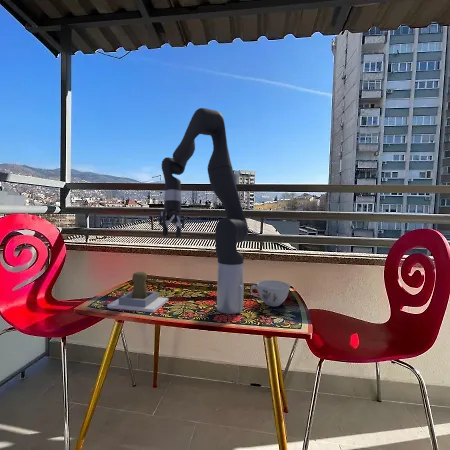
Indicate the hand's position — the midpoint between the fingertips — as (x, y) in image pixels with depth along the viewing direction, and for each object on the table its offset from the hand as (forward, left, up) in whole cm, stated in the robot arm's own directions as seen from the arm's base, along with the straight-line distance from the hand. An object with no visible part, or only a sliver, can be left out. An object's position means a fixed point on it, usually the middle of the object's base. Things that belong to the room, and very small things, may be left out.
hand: (172, 236), depth 123 cm
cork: (+4, +22, -23) cm, 32 cm away
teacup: (-44, +9, -24) cm, 51 cm away
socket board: (+4, +22, -23) cm, 32 cm away
